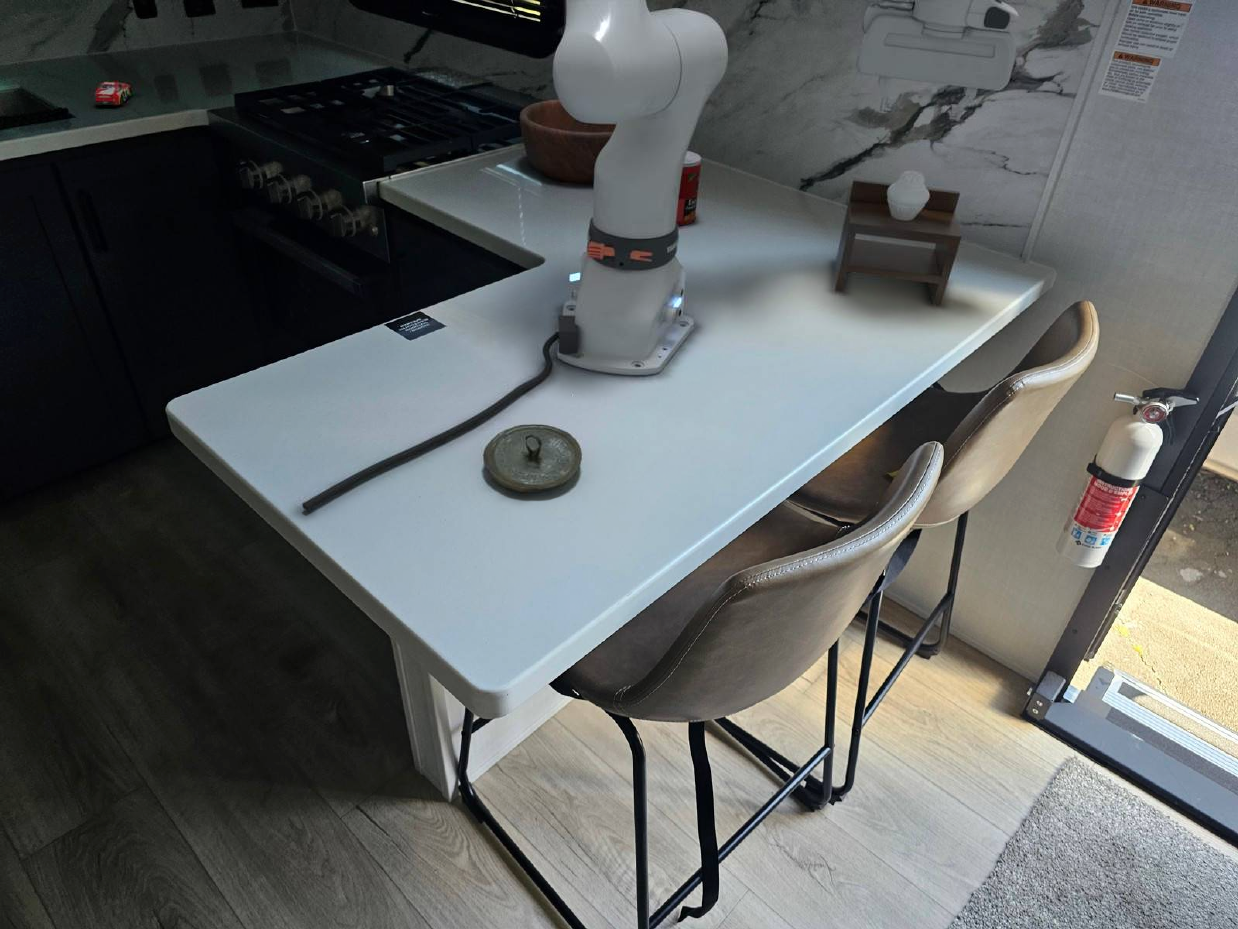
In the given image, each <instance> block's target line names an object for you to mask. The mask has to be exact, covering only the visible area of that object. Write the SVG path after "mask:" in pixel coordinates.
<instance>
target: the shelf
mask: <svg viewBox="0 0 1238 929" xmlns="http://www.w3.org/2000/svg"><path fill="white" fill-rule="evenodd" d="M892 184H893V183H890V182H883V181H882V182H881V181H874V180H866V179H857V178H853V181H852V185H851V189H850V194H849V198H848V202H847V208H846V212H845V215H844V216H845V217H844V222H843V226H842V231H841V235H840V241H839V244H838V249H837V254H836V257H835V262H834V292H838V293H843V292H844V288H845V284H846V280H847V275H848V273H853V274H859V275H868V276H876V277H884V278H889V279H899V280H906V281H913V282H921V283H928V287H929V288H928V289H929V292H930V298H931V302H932V305H934V306H941V305H942V302H943V299H944V296H945V292H946V289H947V286H948V283H949V281H950V280H949V279H950V276H951V273H952V269H953V267H954V263H955V260H956V257H957V253H958V250H959V247H960V244H961V241H962V237H963V236H962V234H961V230H960V226H959V223H958V220H957V217H956V210H957V206H958V202H959V199H960V195H961V192H960V191H958V190H950V189H940V188H934V187H933V188H932V187H926V189H927V190H928V191H929V194H930V196H929V200H928V201H927V202H926V203H925V206H924V207H923V208H922V209H921V211H920V212H919V213H918V214H917V215H916V216H915V217H914V218H913V219H912V220H910V221H903V220H898V219H895V218H893V217H892V216H891V212H890V208H889V204H888V200H887V199H888V196H887V190H888V188H889V187H890V186H891V185H892ZM857 234H858V235H864V236H871V237H873V236H874V237H881V238H886V239H887V238H888V239H896V240H905V241H912V242H920V243H928V244H935V246H934V248H933V247H932V248H931V247H924V246H916V245H908V244H899V243H892V242H884V241H877V240H871V239H869V240H868V239H862V238H861V239H860V238H856V235H857Z"/></svg>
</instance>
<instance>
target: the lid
mask: <svg viewBox="0 0 1238 929" xmlns="http://www.w3.org/2000/svg"><path fill="white" fill-rule="evenodd" d="M482 458H483V464H484V467H485V470H486V471H487V472H488V474H489V475H490V477H492V478H493V480H494V481H495V482H497V483H498V485H499V484H500V485H501V486H502V487H504V488H506V489H507V490H510V491H513V492H518V493H519V492H520V493H539V492H544V491H549V490H551V489H555V488H558V487H561V486H562V485H565V484H567V483H568V482H569V481H571V479H572V478H574V476H575V475H576V474H577V473H578V470H579V468H580V467H581V465H582V464H581V463H582V460H583V453H582V448H581V446H580V443H579V442H578V440H577V439H576V438H575V437H574V436H572V434H571V433H569V432H568V431H566V430H563V429H561V428H558V427H555V426H552V425H547V424H539V423H538V424H535V423H534V424H533V423H532V424H531V423H530V424H519V425H515V426H512V427H509V428H506V429H505V430H503V431H501V432H498V433H497V434H496V435H495V436H494V437H493V438H492V439H490V441H489V442H488V443H487V444H486V446H485V447H484V450H483V453H482Z"/></svg>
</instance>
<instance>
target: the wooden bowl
mask: <svg viewBox="0 0 1238 929" xmlns="http://www.w3.org/2000/svg"><path fill="white" fill-rule="evenodd" d="M519 124H520V132H521V138H522V142H523V147H524V150H525V153H526V156H527V159H528V160H529V162H530V163H531V165H532V167H533V168H534V169H535V171H537V172H538V173H540V174H542V175H544V176H546V177H549V178H551V179H553V180H554V179H555V180H559V181H564V182H571V183H581V184H583V183H586V184H590V183H593V184H594V168H595V163H596V160H597V157H598V155H599V153H600V152H601V150H602V149H603V148H604V146H605V145H606V144H607V143H608V141H609V139H610V138H611V136H612V134H613V132H614V130H615V127H616V125H617V124H595V123H584V122H581V121H578V120H577V119H575V118H573V117H572V116H571V115H570V114H569V113H568V112H567V111H566V110H565V109H564V107H563V106H562V104H561V102H560V100H559V98H557V99H551V100H550V99H549V100H544V101H539V102H535V103H532V104H529V105H527V106H526V107H524V108H523V109H522V110H521V111H520V114H519Z"/></svg>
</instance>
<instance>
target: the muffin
mask: <svg viewBox="0 0 1238 929" xmlns="http://www.w3.org/2000/svg"><path fill="white" fill-rule="evenodd" d="M891 184H892V185H891V186H890V187H889V188H888V190H887V196H888V199H887V200H888V204H889V208H890V212H891V216H892V217H893V218H895V219H898V220H903V221H910V220H912V219H913V218H914V217H915V216H916V215H917V214H918V213H919V212H920V211H921V209H922V208H923V207H924V206H925V203H926V202H927V201H928V200H929V196H930V194H929V191H928V190H927V189H926V188H927V186H926V184H925V176H924V175H923V174H922V173H921V172H919V171H915V170H906V171H903V172H901V174H900V176H899V178H898V179H897V180H895V182H893V183H891Z"/></svg>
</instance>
